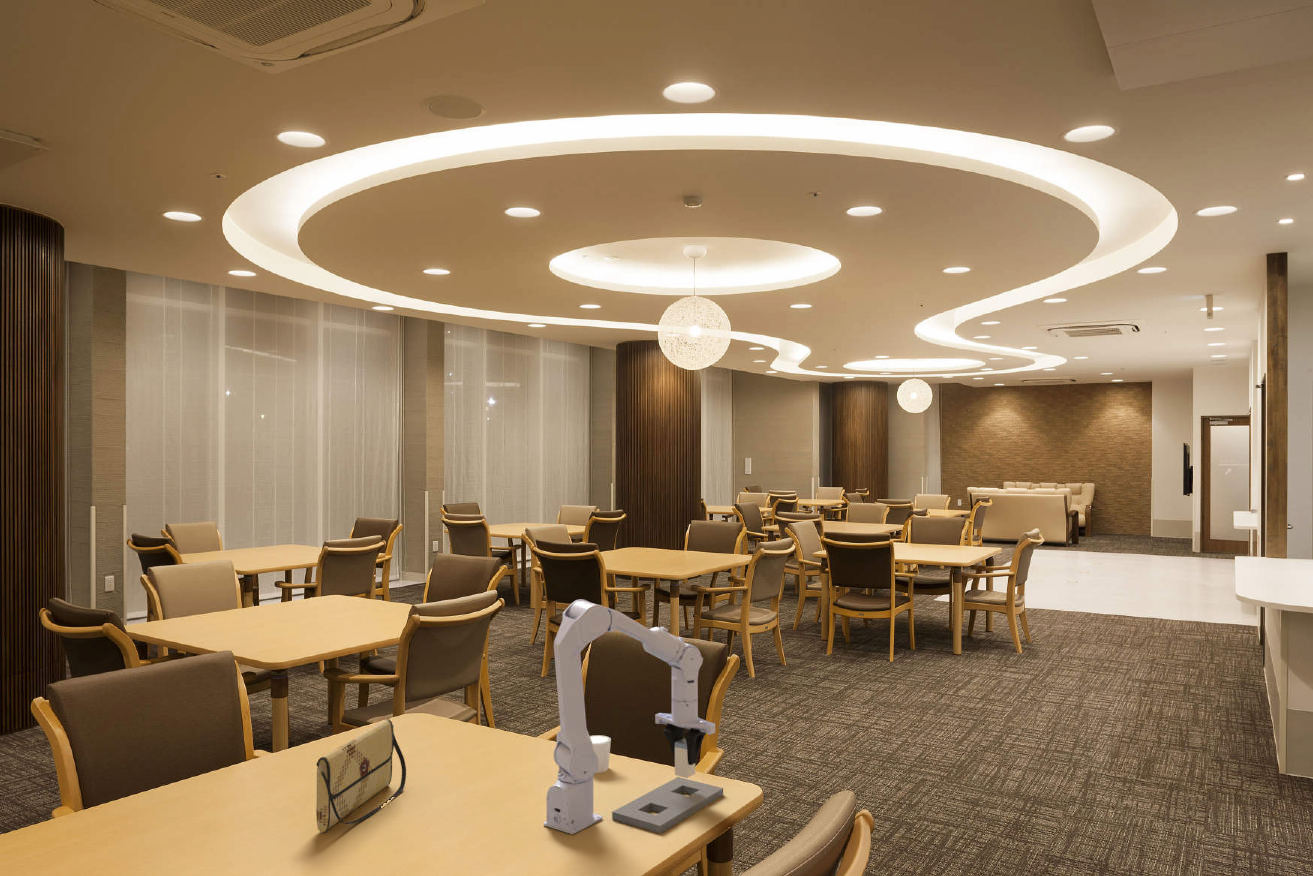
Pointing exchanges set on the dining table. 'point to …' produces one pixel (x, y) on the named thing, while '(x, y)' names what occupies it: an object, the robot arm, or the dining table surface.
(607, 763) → the white round cup
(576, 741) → the robot arm
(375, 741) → the clutch purse
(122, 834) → the dining table surface
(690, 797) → the socket board
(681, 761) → the plug
